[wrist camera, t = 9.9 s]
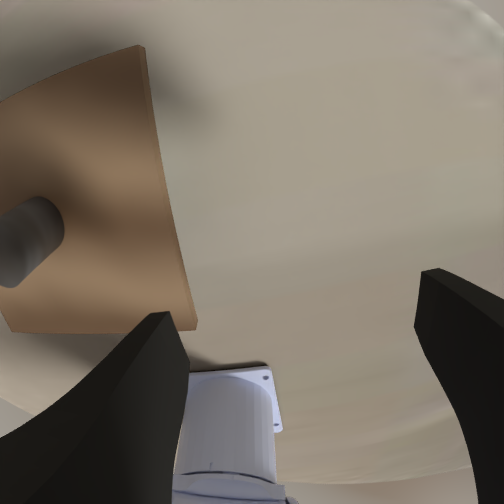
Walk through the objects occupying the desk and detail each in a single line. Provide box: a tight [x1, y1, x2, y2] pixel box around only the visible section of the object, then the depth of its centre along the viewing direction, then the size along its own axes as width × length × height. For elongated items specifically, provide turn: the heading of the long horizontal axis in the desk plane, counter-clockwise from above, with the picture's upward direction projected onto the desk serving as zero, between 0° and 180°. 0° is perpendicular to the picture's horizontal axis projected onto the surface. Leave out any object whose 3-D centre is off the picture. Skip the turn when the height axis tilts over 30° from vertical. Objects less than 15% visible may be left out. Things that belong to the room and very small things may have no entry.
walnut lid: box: [0, 45, 198, 334], centre depth 11 cm, size 13×13×4 cm
